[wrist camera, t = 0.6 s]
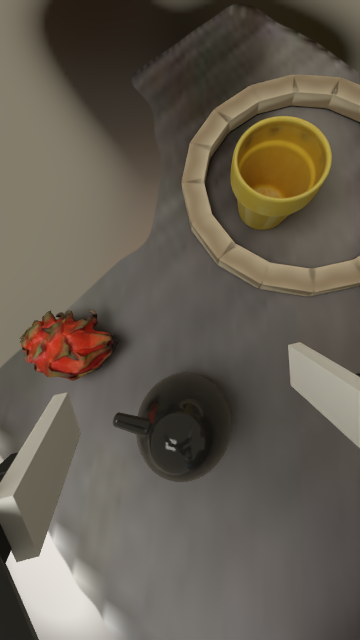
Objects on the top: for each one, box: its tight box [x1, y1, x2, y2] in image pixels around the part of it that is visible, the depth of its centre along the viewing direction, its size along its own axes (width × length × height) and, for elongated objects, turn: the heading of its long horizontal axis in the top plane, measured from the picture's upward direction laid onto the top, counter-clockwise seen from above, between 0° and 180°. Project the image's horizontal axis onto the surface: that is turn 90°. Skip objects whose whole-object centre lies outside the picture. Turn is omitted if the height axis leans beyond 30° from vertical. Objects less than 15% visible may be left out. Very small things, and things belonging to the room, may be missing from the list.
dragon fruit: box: [20, 310, 119, 381], centre depth 34 cm, size 8×8×12 cm
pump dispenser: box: [113, 373, 232, 482], centre depth 27 cm, size 10×10×15 cm
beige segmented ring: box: [182, 74, 360, 297], centre depth 35 cm, size 32×32×7 cm
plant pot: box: [231, 116, 332, 230], centre depth 33 cm, size 10×10×10 cm
